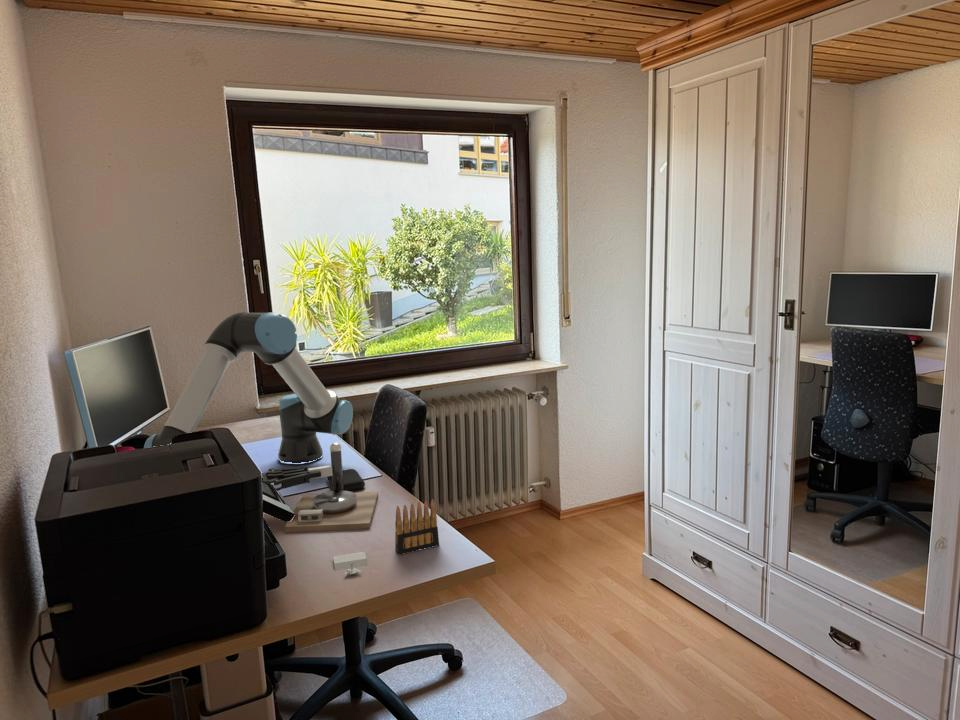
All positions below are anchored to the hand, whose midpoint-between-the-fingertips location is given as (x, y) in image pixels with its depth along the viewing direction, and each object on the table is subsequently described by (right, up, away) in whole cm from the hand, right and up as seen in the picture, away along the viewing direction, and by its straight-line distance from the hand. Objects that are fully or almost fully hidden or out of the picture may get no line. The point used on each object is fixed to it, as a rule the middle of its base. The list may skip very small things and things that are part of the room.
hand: (331, 470), depth 186 cm
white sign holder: (+13, -17, -37) cm, 43 cm away
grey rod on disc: (+2, -9, -3) cm, 9 cm away
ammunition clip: (+27, -15, -28) cm, 42 cm away
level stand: (+2, -11, -6) cm, 12 cm away
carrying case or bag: (0, -8, +16) cm, 18 cm away
